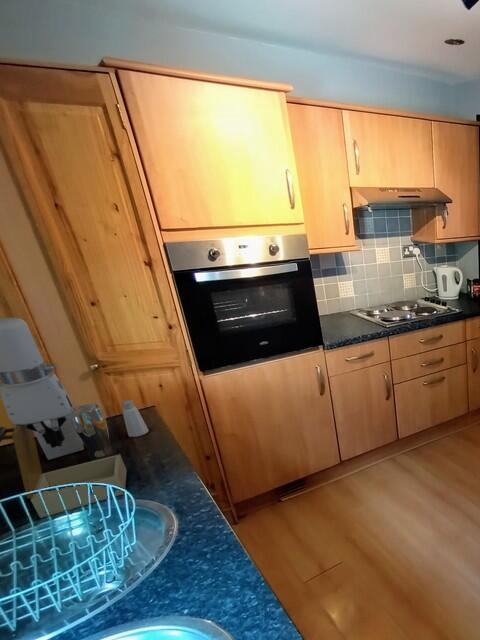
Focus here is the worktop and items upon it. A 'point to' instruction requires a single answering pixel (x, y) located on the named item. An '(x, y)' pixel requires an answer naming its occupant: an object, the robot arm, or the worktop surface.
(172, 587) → the worktop surface
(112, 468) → the open cream tray
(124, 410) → the pepper shaker
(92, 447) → the beer glass
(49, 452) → the small box
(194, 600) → the worktop surface
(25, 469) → the cover
